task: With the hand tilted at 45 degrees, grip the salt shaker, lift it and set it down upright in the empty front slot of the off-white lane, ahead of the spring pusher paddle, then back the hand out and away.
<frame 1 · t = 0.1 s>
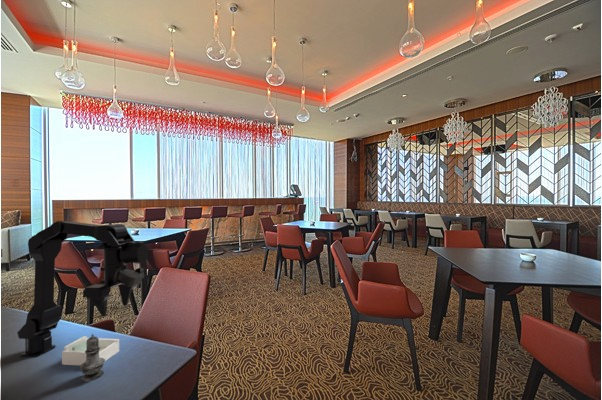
hand: (115, 310, 94), 15 cm above the table, tool pointing down, fingers open, 9 cm apart
pusher: (82, 347, 93), point 3 cm above the table, slide at 0.0 cm
lane: (91, 357, 93), on the table
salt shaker: (92, 376, 83), on the table
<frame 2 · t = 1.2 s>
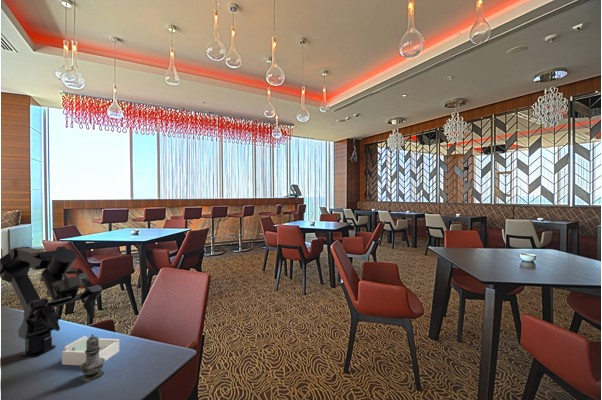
hand: (76, 323, 86), 14 cm above the table, tool tilted 45°, fingers open, 9 cm apart
nothing on the table moved.
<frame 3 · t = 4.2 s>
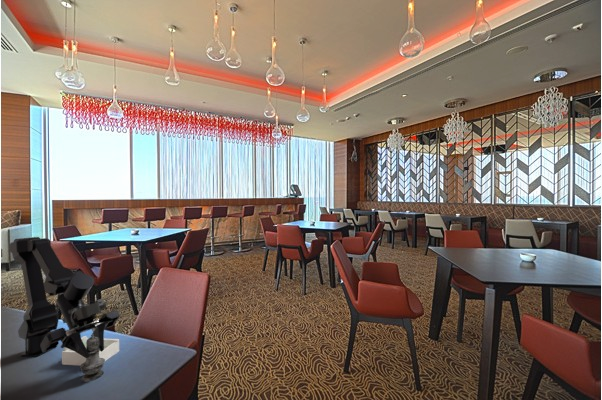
hand: (95, 353, 82), 7 cm above the table, tool tilted 45°, fingers closed on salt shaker, 4 cm apart
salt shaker: (92, 376, 83), on the table, touching gripper
everything else where it was.
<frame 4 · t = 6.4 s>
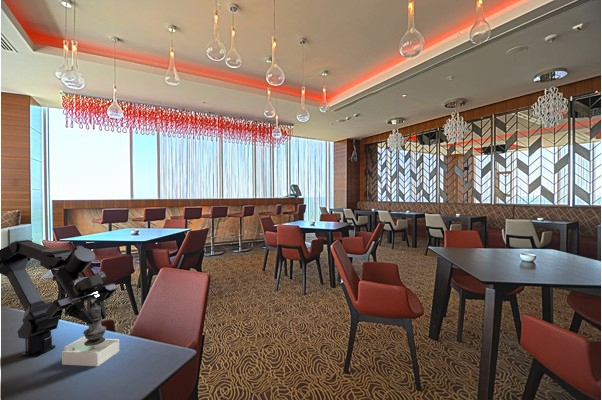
hand: (98, 320, 89), 13 cm above the table, tool tilted 45°, fingers closed on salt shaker, 4 cm apart
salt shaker: (94, 342, 89), point 7 cm above the table, touching gripper
everything else where it was.
when the fingers open (9 cm above the table, at t = 8.2 s): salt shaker drops 1 cm, resting on lane.
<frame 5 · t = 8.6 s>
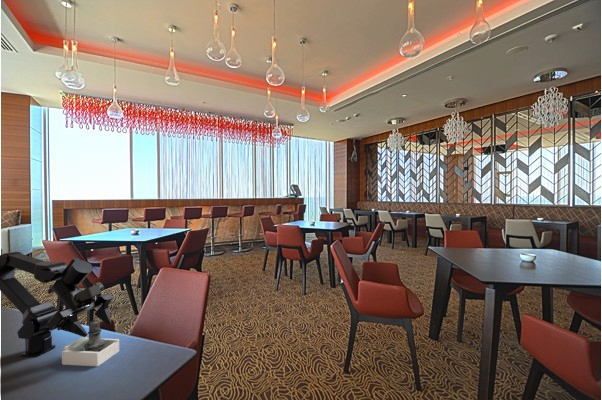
hand: (98, 329, 92), 9 cm above the table, tool tilted 45°, fingers open, 8 cm apart
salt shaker: (94, 355, 92), point 1 cm above the table, touching lane
everything else where it was.
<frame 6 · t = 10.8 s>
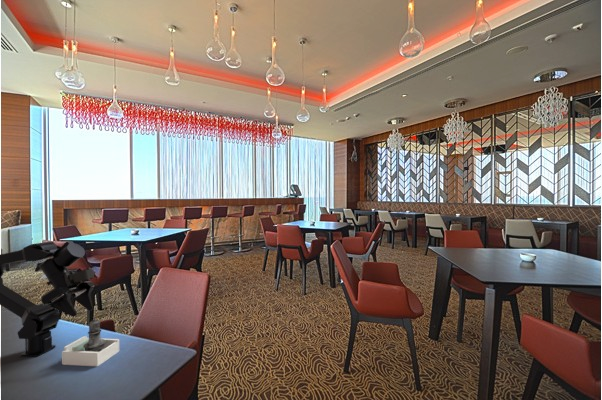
hand: (83, 312, 96), 13 cm above the table, tool tilted 35°, fingers open, 9 cm apart
nothing on the table moved.
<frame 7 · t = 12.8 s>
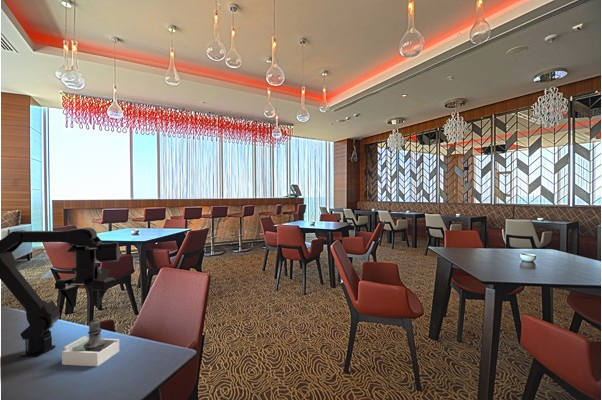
hand: (85, 307, 102), 13 cm above the table, tool pointing down, fingers open, 9 cm apart
nothing on the table moved.
at the end: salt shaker 0.4 cm from the target spot on the lane, point 0.8 cm above the lane's base; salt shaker tilted 0°; the gripper is holding nothing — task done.
